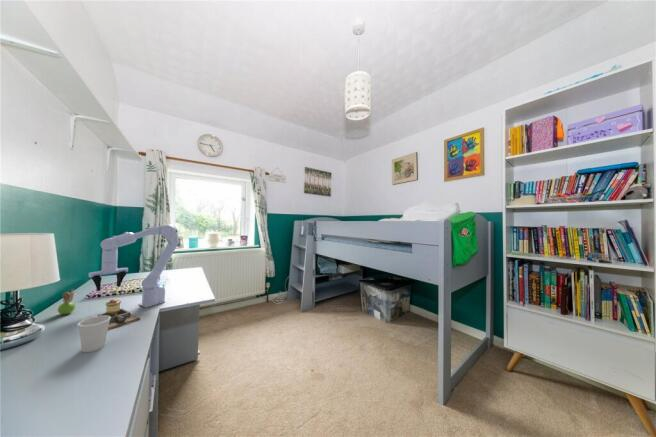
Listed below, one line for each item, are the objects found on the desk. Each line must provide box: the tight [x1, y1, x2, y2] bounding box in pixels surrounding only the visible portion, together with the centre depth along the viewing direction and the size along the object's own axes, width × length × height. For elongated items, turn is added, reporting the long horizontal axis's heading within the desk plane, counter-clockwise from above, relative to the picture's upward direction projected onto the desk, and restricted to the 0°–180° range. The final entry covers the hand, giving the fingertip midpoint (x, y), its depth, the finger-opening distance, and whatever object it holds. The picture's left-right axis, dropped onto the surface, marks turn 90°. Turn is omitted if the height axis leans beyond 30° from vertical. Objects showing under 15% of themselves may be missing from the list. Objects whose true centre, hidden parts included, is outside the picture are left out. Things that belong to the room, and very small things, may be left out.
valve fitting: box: [104, 299, 122, 317], centre depth 102 cm, size 5×5×8 cm
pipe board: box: [96, 307, 141, 330], centre depth 102 cm, size 12×16×3 cm
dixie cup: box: [76, 315, 111, 353], centre depth 81 cm, size 8×8×10 cm
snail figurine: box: [57, 288, 76, 315], centre depth 107 cm, size 5×6×12 cm
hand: (108, 288), depth 114 cm, fingers open, 7 cm apart
